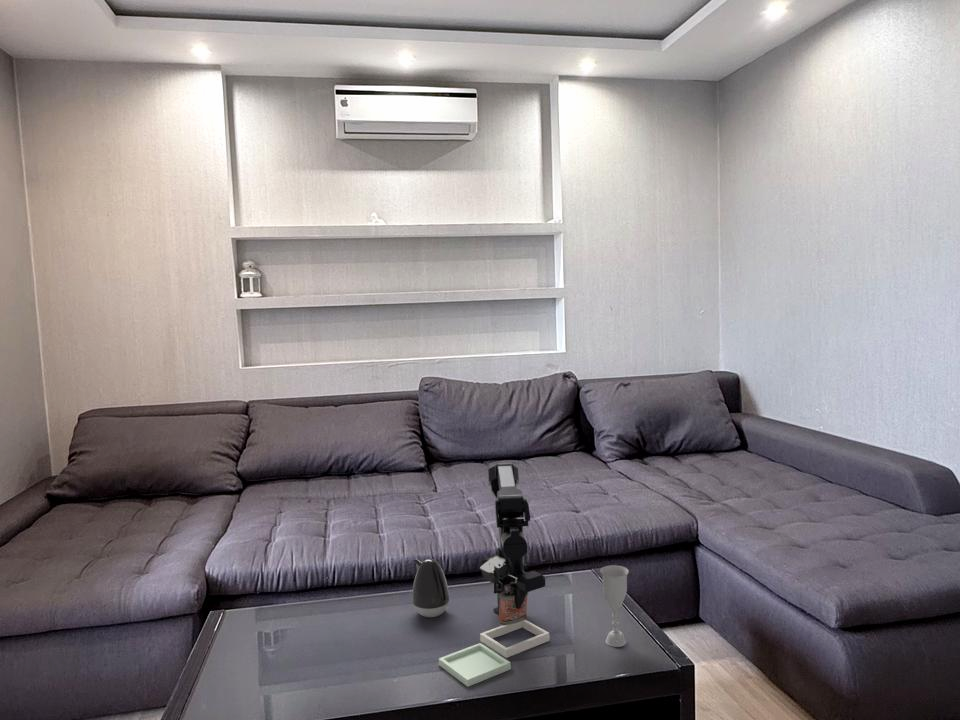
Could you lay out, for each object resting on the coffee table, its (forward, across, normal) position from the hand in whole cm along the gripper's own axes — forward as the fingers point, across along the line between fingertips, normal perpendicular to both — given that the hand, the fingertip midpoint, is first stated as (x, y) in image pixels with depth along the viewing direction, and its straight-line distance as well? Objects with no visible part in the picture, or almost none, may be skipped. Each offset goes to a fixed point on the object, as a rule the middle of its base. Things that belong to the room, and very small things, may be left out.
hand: (513, 606), depth 175 cm
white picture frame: (+9, 0, 0) cm, 9 cm away
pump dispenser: (+9, -27, -8) cm, 30 cm away
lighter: (+4, -1, 0) cm, 4 cm away
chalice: (+9, +16, +19) cm, 26 cm away
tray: (+9, +4, -15) cm, 18 cm away
